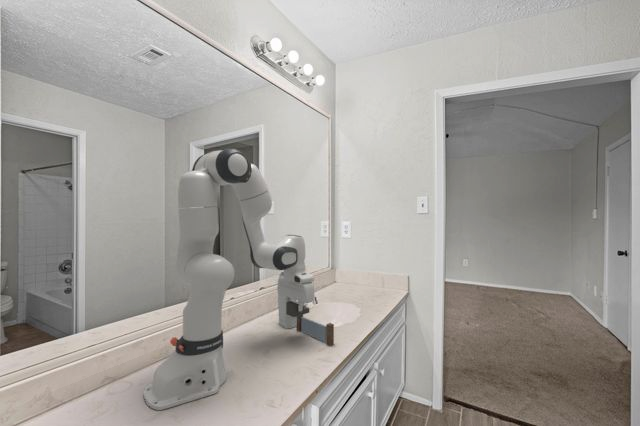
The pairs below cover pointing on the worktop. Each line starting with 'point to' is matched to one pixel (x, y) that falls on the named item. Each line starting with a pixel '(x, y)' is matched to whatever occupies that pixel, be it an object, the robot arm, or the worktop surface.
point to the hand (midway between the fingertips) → (294, 309)
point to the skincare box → (285, 319)
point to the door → (313, 328)
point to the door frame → (328, 331)
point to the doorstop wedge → (295, 309)
